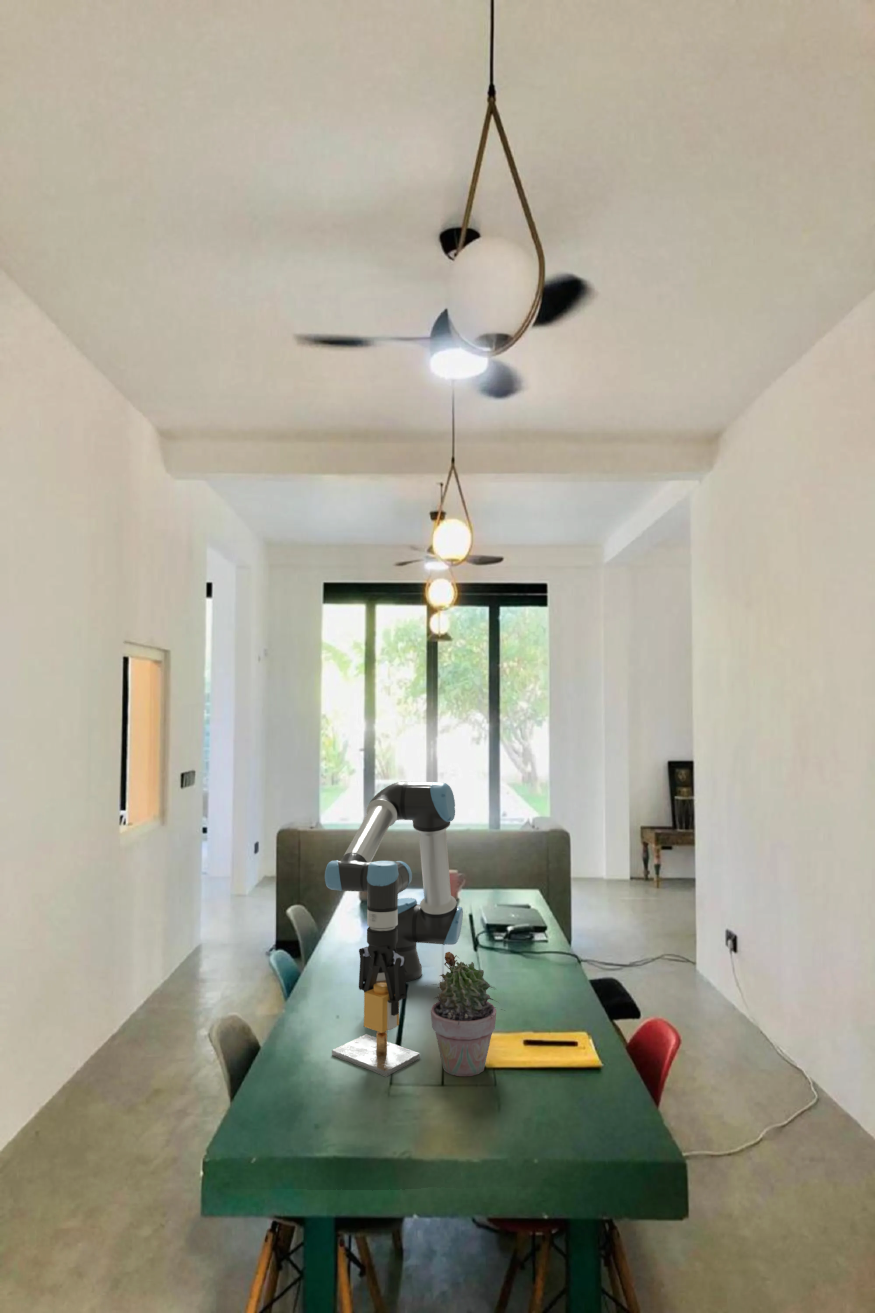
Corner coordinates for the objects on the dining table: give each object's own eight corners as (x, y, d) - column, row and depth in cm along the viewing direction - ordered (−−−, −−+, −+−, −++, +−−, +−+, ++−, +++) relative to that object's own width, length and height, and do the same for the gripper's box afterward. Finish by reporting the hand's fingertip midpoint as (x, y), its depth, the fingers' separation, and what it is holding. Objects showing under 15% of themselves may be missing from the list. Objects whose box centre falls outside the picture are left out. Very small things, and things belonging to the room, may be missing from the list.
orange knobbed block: (363, 1026, 182) (364, 986, 183) (380, 1019, 187) (381, 979, 188) (382, 1033, 178) (382, 991, 179) (398, 1025, 183) (399, 984, 184)
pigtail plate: (331, 1055, 184) (332, 1029, 185) (366, 1039, 194) (366, 1014, 194) (386, 1077, 173) (386, 1048, 174) (419, 1058, 183) (419, 1032, 183)
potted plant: (485, 1095, 165) (484, 977, 167) (411, 1073, 175) (411, 962, 177) (521, 1063, 180) (520, 956, 182) (451, 1044, 190) (450, 943, 192)
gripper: (344, 923, 188) (342, 1020, 186) (401, 937, 176) (400, 1040, 174) (365, 917, 194) (364, 1011, 192) (421, 930, 182) (421, 1030, 180)
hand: (381, 1024), depth 183 cm, fingers closed on orange knobbed block, 6 cm apart
